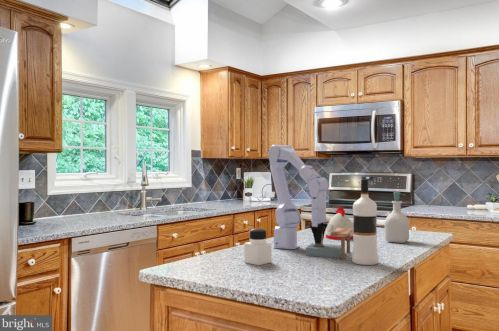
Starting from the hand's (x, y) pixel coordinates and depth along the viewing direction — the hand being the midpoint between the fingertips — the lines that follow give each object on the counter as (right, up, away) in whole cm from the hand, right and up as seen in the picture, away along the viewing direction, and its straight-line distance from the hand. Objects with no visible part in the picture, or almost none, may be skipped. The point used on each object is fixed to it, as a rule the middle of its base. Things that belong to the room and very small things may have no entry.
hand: (319, 242), depth 170 cm
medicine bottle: (-24, -5, -15) cm, 29 cm away
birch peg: (0, -2, 0) cm, 2 cm away
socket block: (+2, -4, -1) cm, 5 cm away
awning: (+8, -4, -3) cm, 10 cm away
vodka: (+14, -5, -16) cm, 22 cm away
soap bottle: (+40, -4, +26) cm, 48 cm away
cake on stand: (+16, -5, +38) cm, 41 cm away
